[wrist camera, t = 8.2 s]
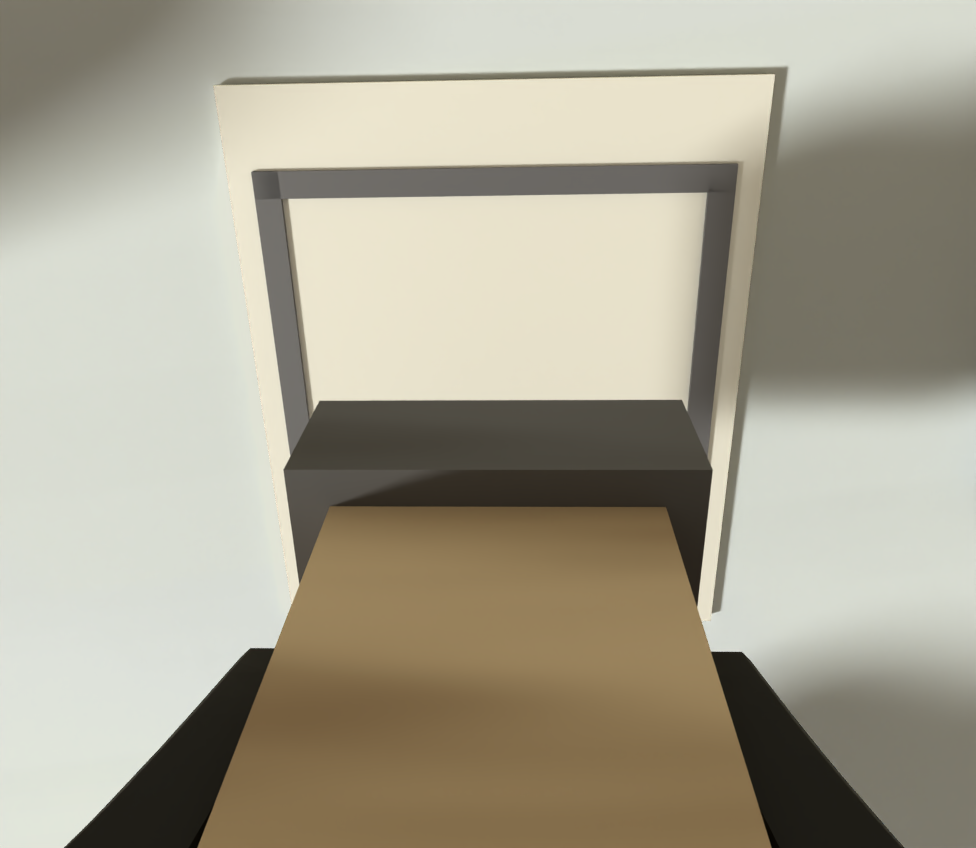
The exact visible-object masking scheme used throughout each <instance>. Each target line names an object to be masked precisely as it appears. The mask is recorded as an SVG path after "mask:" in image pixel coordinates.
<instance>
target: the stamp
mask: <svg viewBox="0 0 976 848" xmlns="http://www.w3.org/2000/svg"><path fill="white" fill-rule="evenodd" d="M283 471H284V478H285V485H286V492H287V500H288V507H289V514H290V521H291V529H292V536H293V543H294V550H295V557H296V565H297V572H298V579H299V587H298V590H297V592H296V595H295V597H294V600H293V603H292V605H291V608H290V610H289V613H288V615H287V618H286V621H285V623H284V626H283V628H282V631H281V634H280V636H279V639H278V641H277V644H276V646H275V649H274V652H273V654H272V657H271V659H270V662H269V664H268V667H267V670H266V672H265V675H264V677H263V680H262V683H261V685H260V688H259V690H258V693H257V695H256V698H255V701H254V703H253V706H252V708H251V711H250V713H249V716H248V719H247V721H246V724H245V726H244V729H243V732H242V734H241V737H240V739H239V742H238V744H237V747H236V750H235V752H234V755H233V757H232V760H231V762H230V765H229V768H228V770H227V773H226V775H225V778H224V781H223V783H222V786H221V788H220V791H219V793H218V796H217V799H216V801H215V804H214V806H213V809H212V811H211V814H210V817H209V819H208V822H207V824H206V827H205V830H204V832H203V835H202V837H201V840H200V842H199V845H198V848H771V844H770V841H769V838H768V835H767V831H766V828H765V825H764V822H763V818H762V815H761V812H760V809H759V806H758V802H757V799H756V796H755V793H754V789H753V786H752V783H751V780H750V777H749V773H748V770H747V767H746V764H745V760H744V757H743V754H742V751H741V748H740V744H739V741H738V738H737V735H736V731H735V728H734V725H733V722H732V718H731V715H730V712H729V709H728V706H727V702H726V699H725V696H724V693H723V689H722V686H721V683H720V680H719V677H718V673H717V670H716V667H715V664H714V660H713V657H712V654H711V651H710V647H709V644H708V641H707V638H706V635H705V631H704V628H703V625H702V622H701V618H700V615H699V612H698V609H697V606H698V597H699V588H700V579H701V570H702V562H703V553H704V544H705V535H706V526H707V518H708V509H709V500H710V491H711V482H712V473H713V469H712V467H711V464H710V462H709V460H708V458H707V455H706V453H705V451H704V449H703V446H702V444H701V442H700V440H699V437H698V435H697V433H696V430H695V428H694V426H693V424H692V421H691V419H690V417H689V415H688V412H687V410H686V408H685V406H684V403H683V401H682V400H369V401H319V403H318V405H317V406H316V408H315V410H314V412H313V414H312V416H311V418H310V420H309V422H308V424H307V426H306V427H305V429H304V431H303V433H302V435H301V437H300V439H299V441H298V443H297V445H296V447H295V448H294V450H293V452H292V454H291V456H290V458H289V460H288V462H287V464H286V466H285V468H284V469H283Z"/></svg>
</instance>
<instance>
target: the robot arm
mask: <svg viewBox="0 0 976 848" xmlns="http://www.w3.org/2000/svg"><path fill="white" fill-rule="evenodd" d="M274 649H275V648H250V649H249V650H248V651H247V652H246V653H245V654H244V655H243V656H242V657H241V658H240V659H239V660H238V661H237V662H236V663H235V664H234V665H233V667H232V668H231V669H230V670H229V671H228V672H227V673H226V674H225V676H224V677H223V678H222V679H221V680H220V681H219V682H218V684H217V685H216V686H215V687H214V688H213V689H212V690H211V692H210V693H209V694H208V695H207V696H206V697H205V698H204V700H203V701H202V702H201V703H200V704H199V705H198V706H197V707H196V709H195V710H194V711H193V712H192V713H191V714H190V715H189V716H188V718H187V719H186V720H185V721H184V722H183V723H182V724H181V725H180V726H179V728H178V729H177V730H176V731H175V732H174V733H173V734H172V735H171V736H170V738H169V739H168V740H167V741H166V742H165V743H164V744H163V745H162V746H161V748H160V749H159V750H158V751H157V752H156V753H155V754H154V755H153V756H152V757H151V758H150V759H149V760H148V762H147V763H146V764H145V765H144V766H143V767H142V768H141V769H140V770H139V771H138V772H137V773H136V774H135V775H134V776H133V777H132V779H131V780H130V781H129V782H128V783H127V784H126V785H125V786H124V787H123V788H122V789H121V790H120V791H119V792H118V793H117V795H116V796H115V797H114V798H113V799H112V800H111V801H110V802H109V803H108V804H107V805H106V806H105V807H104V808H103V809H102V810H101V811H100V812H99V813H98V815H97V816H96V817H95V818H94V819H93V820H92V821H91V822H90V823H89V824H88V825H87V826H86V827H85V828H84V829H83V830H82V831H81V832H80V833H79V834H78V835H77V836H76V837H75V838H74V839H73V840H71V841H70V842H69V843H68V844H67V845H66V846H65V847H64V848H198V845H199V842H200V840H201V837H202V835H203V832H204V830H205V827H206V824H207V822H208V819H209V817H210V814H211V811H212V809H213V806H214V804H215V801H216V799H217V796H218V793H219V791H220V788H221V786H222V783H223V781H224V778H225V775H226V773H227V770H228V768H229V765H230V762H231V760H232V757H233V755H234V752H235V750H236V747H237V744H238V742H239V739H240V737H241V734H242V732H243V729H244V726H245V724H246V721H247V719H248V716H249V713H250V711H251V708H252V706H253V703H254V701H255V698H256V695H257V693H258V690H259V688H260V685H261V683H262V680H263V677H264V675H265V672H266V670H267V667H268V664H269V662H270V659H271V657H272V654H273V652H274ZM711 654H712V657H713V660H714V664H715V667H716V670H717V673H718V677H719V680H720V683H721V686H722V689H723V693H724V696H725V699H726V702H727V706H728V709H729V712H730V715H731V718H732V722H733V725H734V728H735V731H736V735H737V738H738V741H739V744H740V748H741V751H742V754H743V757H744V760H745V764H746V767H747V770H748V773H749V777H750V780H751V783H752V786H753V789H754V793H755V796H756V799H757V802H758V806H759V809H760V812H761V815H762V818H763V822H764V825H765V828H766V831H767V835H768V838H769V841H770V844H771V848H904V847H903V846H902V845H901V843H900V842H899V841H898V840H897V839H896V838H895V837H894V836H893V835H892V833H891V832H890V831H889V830H888V829H887V828H886V826H885V825H884V824H883V823H882V822H881V821H880V820H879V818H878V817H877V816H876V815H875V814H874V813H873V811H872V810H871V809H870V808H869V807H868V806H867V805H866V803H865V802H864V801H863V800H862V799H861V798H860V796H859V795H858V794H857V793H856V792H855V791H854V790H853V788H852V787H851V786H850V785H849V784H848V783H847V781H846V780H845V779H844V778H843V777H842V775H841V774H840V773H839V772H838V771H837V769H836V768H835V767H834V766H833V765H832V763H831V762H830V761H829V760H828V759H827V757H826V756H825V755H824V754H823V752H822V751H821V750H820V749H819V748H818V746H817V745H816V744H815V743H814V741H813V740H812V739H811V738H810V736H809V735H808V734H807V733H806V731H805V730H804V729H803V728H802V726H801V725H800V724H799V723H798V721H797V720H796V719H795V718H794V716H793V715H792V714H791V713H790V711H789V710H788V709H787V707H786V706H785V705H784V704H783V702H782V701H781V700H780V698H779V697H778V696H777V695H776V693H775V692H774V691H773V689H772V688H771V687H770V685H769V684H768V683H767V681H766V680H765V679H764V678H763V676H762V675H761V674H760V672H759V671H758V670H757V668H756V667H755V666H754V664H753V663H752V662H751V661H750V660H749V659H748V658H747V657H746V656H745V655H744V654H743V653H742V652H711Z"/></svg>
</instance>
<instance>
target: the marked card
mask: <svg viewBox="0 0 976 848" xmlns="http://www.w3.org/2000/svg"><path fill="white" fill-rule="evenodd" d="M774 79H775V74H737V75H687V76H637V77H587V78H537V79H488V80H438V81H388V82H338V83H289V84H239V85H214V86H213V87H214V94H215V100H216V107H217V114H218V120H219V127H220V134H221V140H222V147H223V154H224V160H225V167H226V174H227V180H228V187H229V193H230V200H231V207H232V213H233V220H234V227H235V233H236V240H237V247H238V253H239V260H240V267H241V273H242V280H243V287H244V293H245V300H246V306H247V313H248V320H249V326H250V333H251V340H252V346H253V353H254V360H255V366H256V373H257V380H258V386H259V393H260V400H261V406H262V413H263V419H264V426H265V433H266V439H267V446H268V453H269V459H270V466H271V473H272V479H273V486H274V493H275V499H276V506H277V513H278V519H279V526H280V532H281V539H282V546H283V552H284V559H285V566H286V572H287V579H288V586H289V592H290V599H291V605H292V603H293V600H294V597H295V595H296V592H297V590H298V587H299V579H298V572H297V565H296V557H295V550H294V543H293V536H292V529H291V521H290V514H289V507H288V500H287V492H286V485H285V478H284V471H283V469H284V468H285V466H286V464H287V462H288V460H289V458H290V456H291V454H292V452H293V450H294V448H295V447H296V445H297V443H298V441H299V439H300V437H301V435H302V433H303V431H304V429H305V427H306V426H307V424H308V422H309V420H310V418H311V416H312V414H313V412H314V410H315V408H316V406H317V405H318V403H319V401H369V400H682V401H683V403H684V406H685V408H686V410H687V412H688V415H689V417H690V419H691V421H692V424H693V426H694V428H695V430H696V433H697V435H698V437H699V440H700V442H701V444H702V446H703V449H704V451H705V453H706V455H707V458H708V460H709V462H710V464H711V467H712V469H713V473H712V482H711V491H710V500H709V509H708V518H707V526H706V535H705V544H704V553H703V562H702V570H701V579H700V588H699V597H698V606H697V609H698V612H699V615H700V618H701V621H711V613H712V604H713V596H714V587H715V579H716V570H717V562H718V554H719V545H720V537H721V528H722V520H723V511H724V503H725V494H726V486H727V477H728V469H729V460H730V452H731V443H732V435H733V427H734V418H735V410H736V401H737V393H738V384H739V376H740V367H741V359H742V350H743V342H744V333H745V325H746V316H747V308H748V299H749V291H750V283H751V274H752V266H753V257H754V249H755V240H756V232H757V223H758V215H759V206H760V198H761V189H762V181H763V172H764V164H765V156H766V147H767V139H768V130H769V122H770V113H771V105H772V96H773V88H774Z"/></svg>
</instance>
